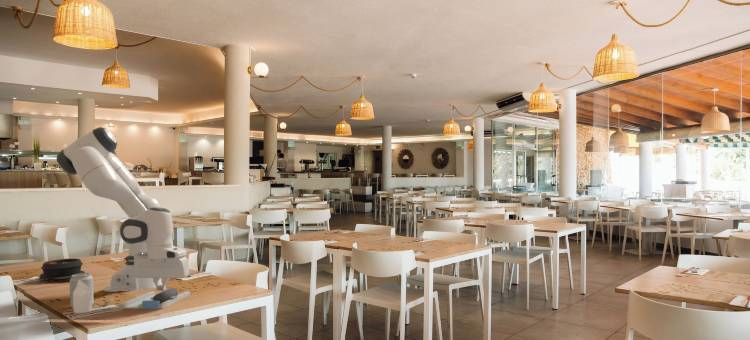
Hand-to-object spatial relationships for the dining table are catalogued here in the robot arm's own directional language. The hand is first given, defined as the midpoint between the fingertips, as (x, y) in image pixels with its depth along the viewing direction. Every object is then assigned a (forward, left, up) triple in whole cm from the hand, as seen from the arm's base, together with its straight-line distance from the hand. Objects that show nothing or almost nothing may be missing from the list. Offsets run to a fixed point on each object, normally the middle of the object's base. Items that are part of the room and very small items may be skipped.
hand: (161, 290), depth 187 cm
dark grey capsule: (0, +1, -4) cm, 4 cm away
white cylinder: (-22, -12, -6) cm, 26 cm away
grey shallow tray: (-3, +2, -6) cm, 7 cm away
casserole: (-76, +46, -6) cm, 89 cm away
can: (-29, -3, -6) cm, 30 cm away
